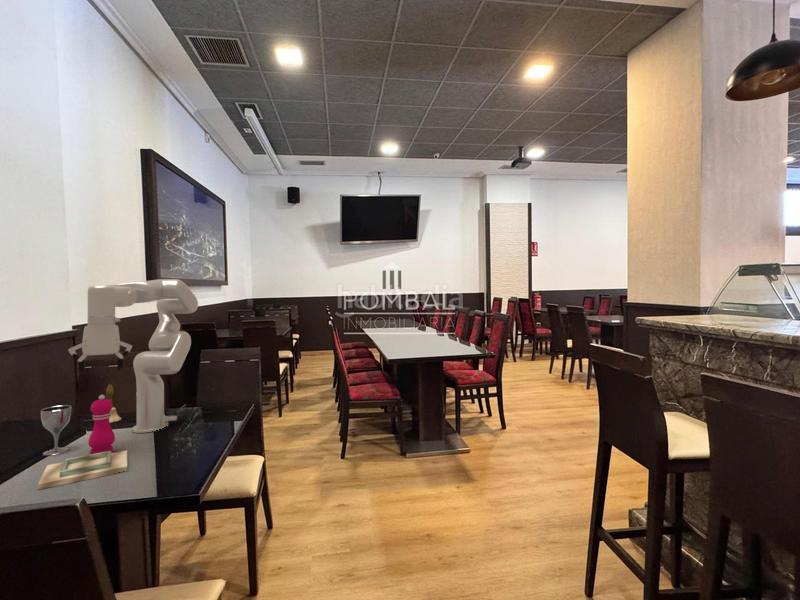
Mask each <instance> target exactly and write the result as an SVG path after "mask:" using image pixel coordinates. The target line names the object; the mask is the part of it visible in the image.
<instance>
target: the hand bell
mask: <svg viewBox="0 0 800 600" xmlns="http://www.w3.org/2000/svg"><path fill="white" fill-rule="evenodd" d="M113 387H114V386H113V384H108V385H107V387H106V390H105V391H106V392H105V393H106V399H108V400H110V401H111V402H112V403H113V397H114V393H115V392H114V388H113ZM110 412H111V417H110V418H109V423H110V424H112V423H116V422H118V421H122V417H120V415H118V413H117V408H116V407H114V406H113V407H112V409H111V411H110Z"/></svg>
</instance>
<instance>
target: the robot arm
mask: <svg viewBox="0 0 800 600" xmlns="http://www.w3.org/2000/svg"><path fill="white" fill-rule="evenodd" d="M153 301H156V311H157V315H158V318H159V321H158V322H159V323H158V325H157V327H156V329H155V330H154V332H153V334H152V336H151V338H150V339H149V341H148V348H149V350H148V351H143V352H139V353H138V354H136V356H134V359H133V361H132V363H133V364H132V365H133V371H134V375H135V381H136V382H135V383H136V385H135V386H136V394H135V395H136V425H133V427H131V432H133V433H136V434H144V433H152V431H153V432H157V431H156V430H158V431H160V430H159V429H161V430H163V429H162V428H164V427H166V426H167V427H169V422H175V421H177V420H178V416H177V415H165V414H166V413H165V383H164V380H163V378H162V376H161V375H174V374H177V373H179V371H180V370H181V369H182V367H183V364H184V362H185V360H186V357H187V355H188V353H189V352H190V349H191V345H192V338H191V335H190V334H189V333H188V332H187V331H185V330H180V328H181V323H180V321H179V320H178V319H177V318H176V316H175V314H176V315H177V314H178V315H179V314H181V315H182V314H194V313H195V312H196V311H197V310H198V308H199V301H198V298H197V296H196V295H195V294H194V293H193V291H192V290H191V289H190V287H189V286H188V285H187V284H186V283H185V282H183V280H181V279H178V278H177V279H175V278H173V279H170V278H169V279H165V278H163V279H153V280H152V279H151V280H145V281H136V282H127V283H118V284H117V283H116V284H109V285H91V286H89V287H88V288H87V325H85V326H84V329H83V332H82V333H83V334H82V342H81V343H79V344H77V345H74V346H72V347H70V348H68V352H69V354H70V355H71V356H72V358H73V359H75V360H76V361H77V362H78V371H79V372H81V374H85V373H86V361H85V359H86V358H87V357H88V356H102V355H115V356H116V357H117V365H116V366H117V371H121V368H124V367H123V362H124V361H123V359H124V358H125V357H126V356H127V355H129V353H130V352H131V350H132V348H133V345H131V344H130V343H126V342H124V341H121V340H120V329H119V326H118V324H116V323H118V322H121V317H117V316H116V308H124V307H125V308H126V307H131V306H133V305H134V304H145V303H151V302H153ZM121 347H124V348H126V349H125V351H123V352H122V353H121V352H120V349H121ZM79 349H81V350H82V352H81V353H82V355H81V356H80V355H79V354H78V353H77V352H76V351H77V350H79ZM167 427H166V428H167ZM164 429H165V428H164Z"/></svg>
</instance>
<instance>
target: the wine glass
mask: <svg viewBox="0 0 800 600" xmlns="http://www.w3.org/2000/svg"><path fill="white" fill-rule="evenodd" d="M71 414H72V405H69V404H64V405H63V404H62V405H55V406H48V407H45V408H42V409H41V410H40V420H41V424H42V427H44V429H46V430H47V431H49V432H50V433H51V434H52V436H53V439H54V447H53V448H52V449H49V451H48V450H46V451H44V452H42V454H43V455H42V456H54V455H60V454H63V453H65V452H64V451H66V452H68V451H69V450H68V448H69V447H66V448H65V447H59V437H60V433H61V432H62V430H64V428H65V427H66V426H67V425H68V424H69V422H70V421H71V416H72V415H71ZM67 450H68V451H67ZM62 452H63V453H62Z"/></svg>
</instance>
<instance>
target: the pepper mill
mask: <svg viewBox="0 0 800 600" xmlns="http://www.w3.org/2000/svg"><path fill="white" fill-rule="evenodd" d="M112 407H114V405H113V401H112V402H111V401H110V400H108V399H107V398H106V396H105V394H100V395H99V396H98V399H97V400H94V401H93V402H92V403H91V405H90V412H91V413H92V418H91V419H92V420H93V423H94V424H93V428H92V431H91V433H90V434H89V435H90V436H89V438H88V443H87V444H88V447H90V448H91V449H90V450H89V455H91V454H96V453H102V452H107V451H111V453H114V445H113V443H114V442H115V440H116V436H115V433H114V431H113V429H112V427H111V425H110V424H111V423H109V418H110V417H111V412H110V411H111V409H112Z"/></svg>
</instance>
